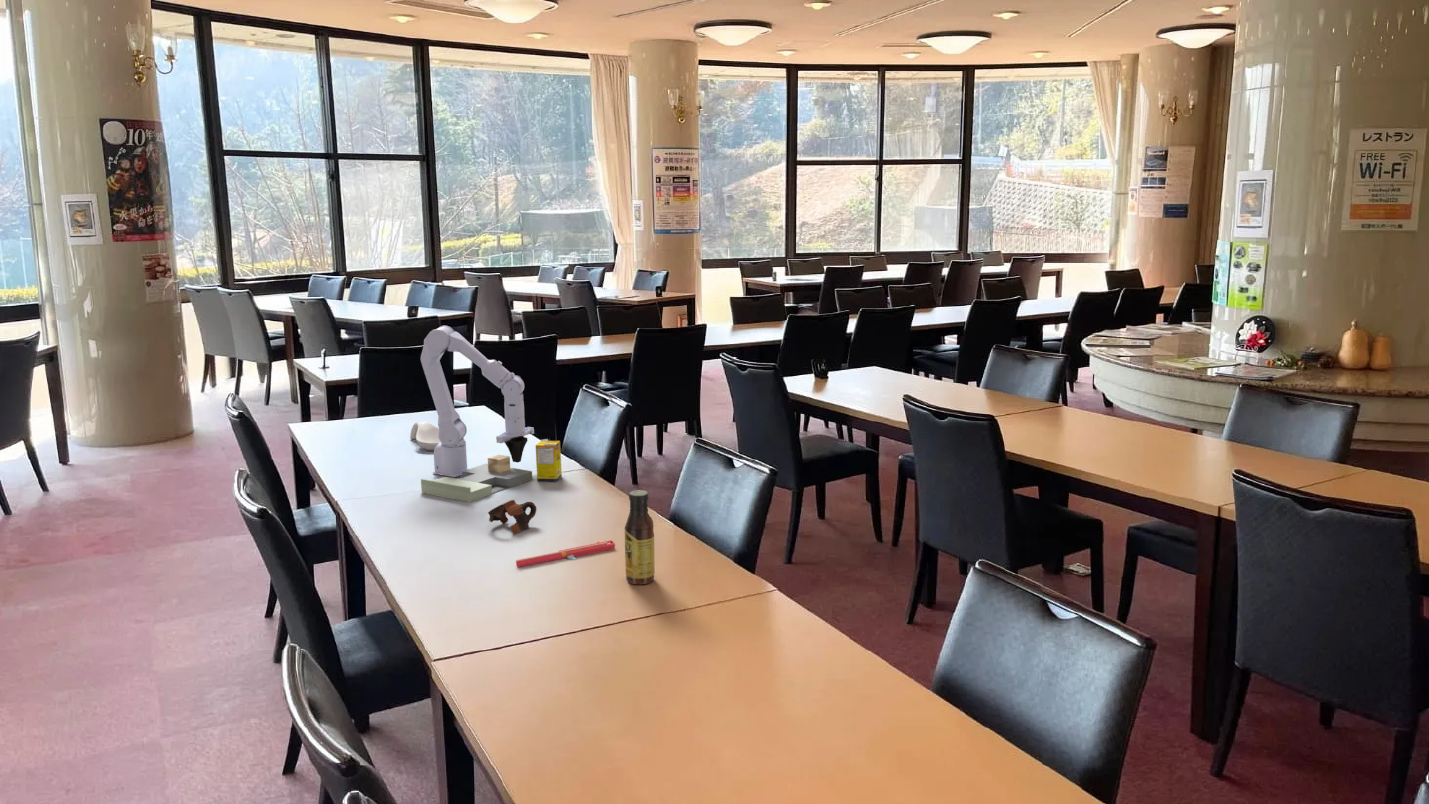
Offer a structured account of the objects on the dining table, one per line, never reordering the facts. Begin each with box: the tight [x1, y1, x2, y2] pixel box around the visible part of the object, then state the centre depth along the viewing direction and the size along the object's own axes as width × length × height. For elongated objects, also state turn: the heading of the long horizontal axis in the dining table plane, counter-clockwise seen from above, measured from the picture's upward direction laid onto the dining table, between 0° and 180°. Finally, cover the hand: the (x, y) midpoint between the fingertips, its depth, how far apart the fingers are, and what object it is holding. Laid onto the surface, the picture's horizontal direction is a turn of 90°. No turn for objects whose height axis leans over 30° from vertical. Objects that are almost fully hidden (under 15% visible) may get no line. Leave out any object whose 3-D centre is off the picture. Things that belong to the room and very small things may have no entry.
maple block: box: [487, 454, 511, 473], centre depth 298 cm, size 4×4×4 cm
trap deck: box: [420, 463, 533, 503], centre depth 291 cm, size 18×26×4 cm
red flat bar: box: [515, 539, 616, 568], centre depth 232 cm, size 24×2×5 cm
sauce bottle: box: [624, 489, 656, 585], centre depth 215 cm, size 6×6×20 cm
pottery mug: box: [487, 499, 538, 535], centre depth 254 cm, size 12×10×8 cm
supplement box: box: [535, 440, 563, 482], centre depth 297 cm, size 6×6×11 cm
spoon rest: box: [409, 421, 441, 451], centre depth 341 cm, size 24×12×7 cm, turn 37°
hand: (516, 461), depth 304 cm, fingers closed
